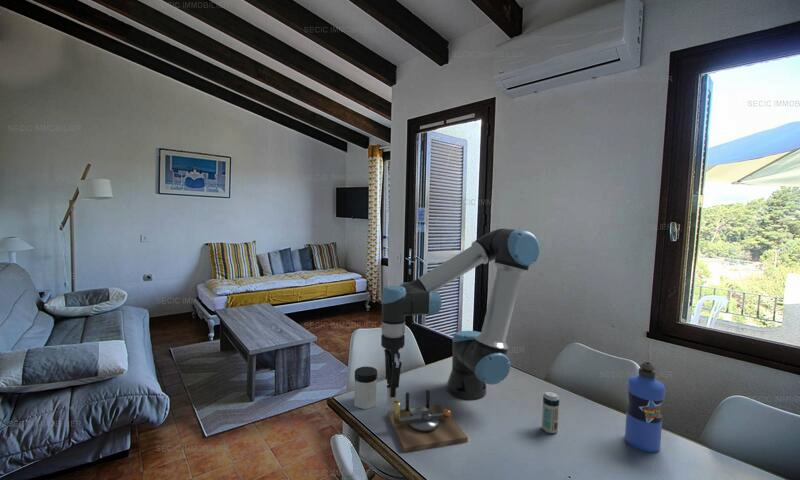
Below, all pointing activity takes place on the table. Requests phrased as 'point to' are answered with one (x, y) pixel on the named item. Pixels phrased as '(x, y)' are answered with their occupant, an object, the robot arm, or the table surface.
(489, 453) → the table surface
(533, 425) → the table surface
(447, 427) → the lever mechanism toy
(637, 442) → the water bottle
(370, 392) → the jar
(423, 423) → the grey metal domed piece
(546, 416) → the supplement bottle
